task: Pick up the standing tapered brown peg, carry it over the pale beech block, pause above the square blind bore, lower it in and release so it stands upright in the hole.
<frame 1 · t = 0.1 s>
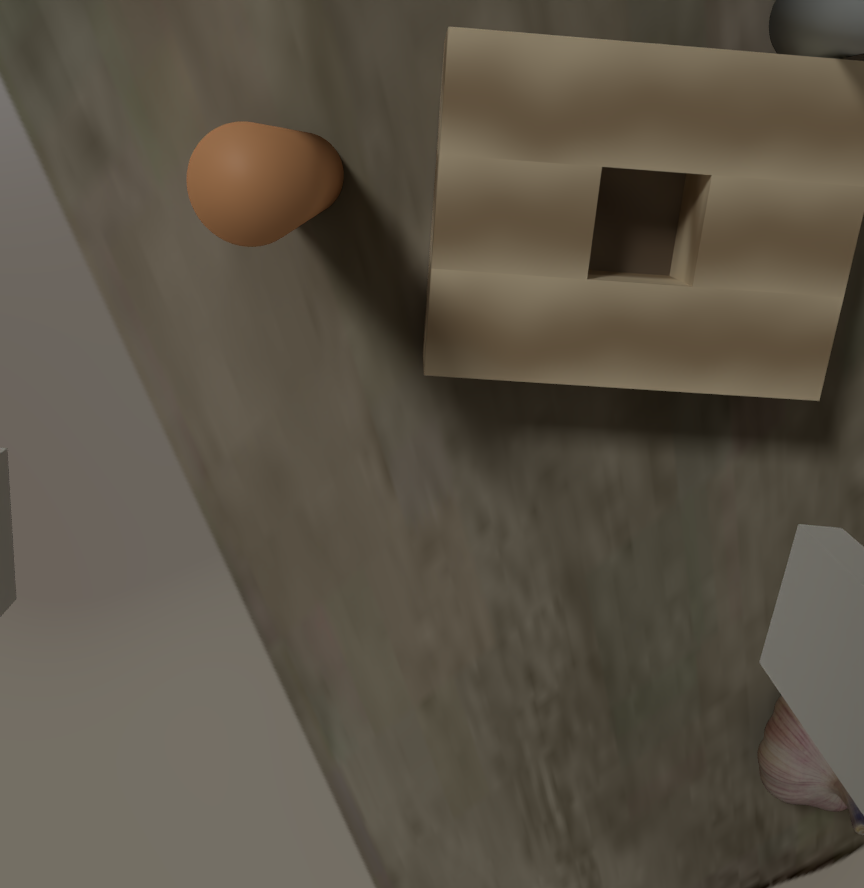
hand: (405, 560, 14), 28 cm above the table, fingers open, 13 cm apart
grey dowel: (809, 21, 36), on the table
garlic bulb: (800, 721, 49), on the table
tapered brown peg: (304, 174, 38), on the table
bore block: (622, 220, 39), on the table
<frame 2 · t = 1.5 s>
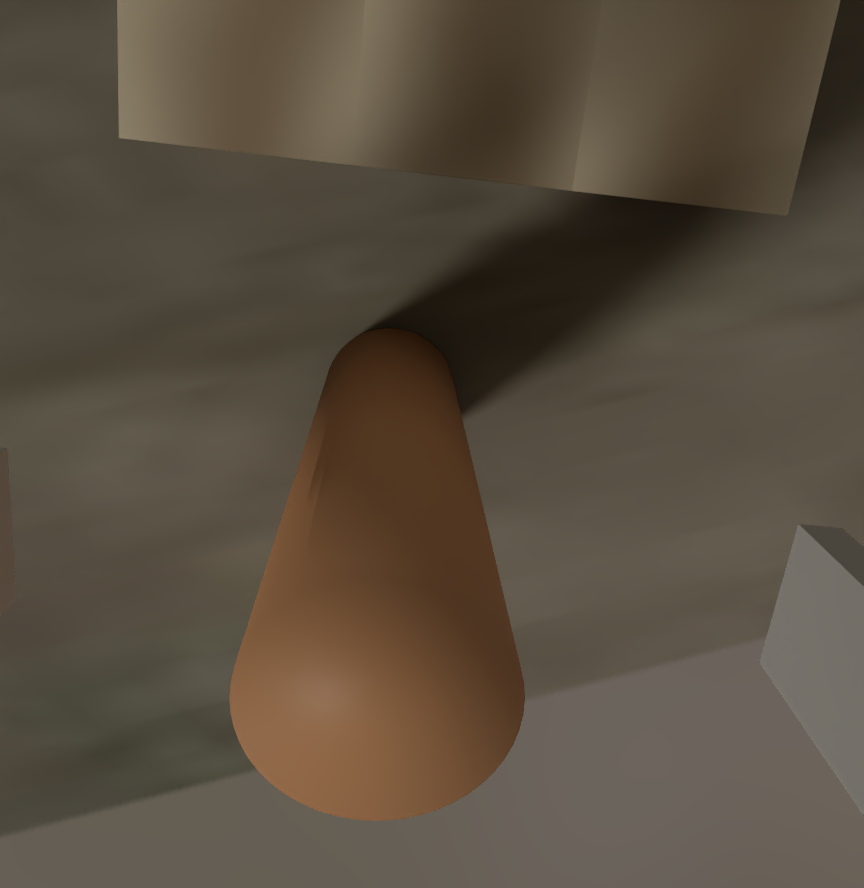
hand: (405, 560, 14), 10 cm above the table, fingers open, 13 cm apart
tapered brown peg: (390, 391, 23), on the table
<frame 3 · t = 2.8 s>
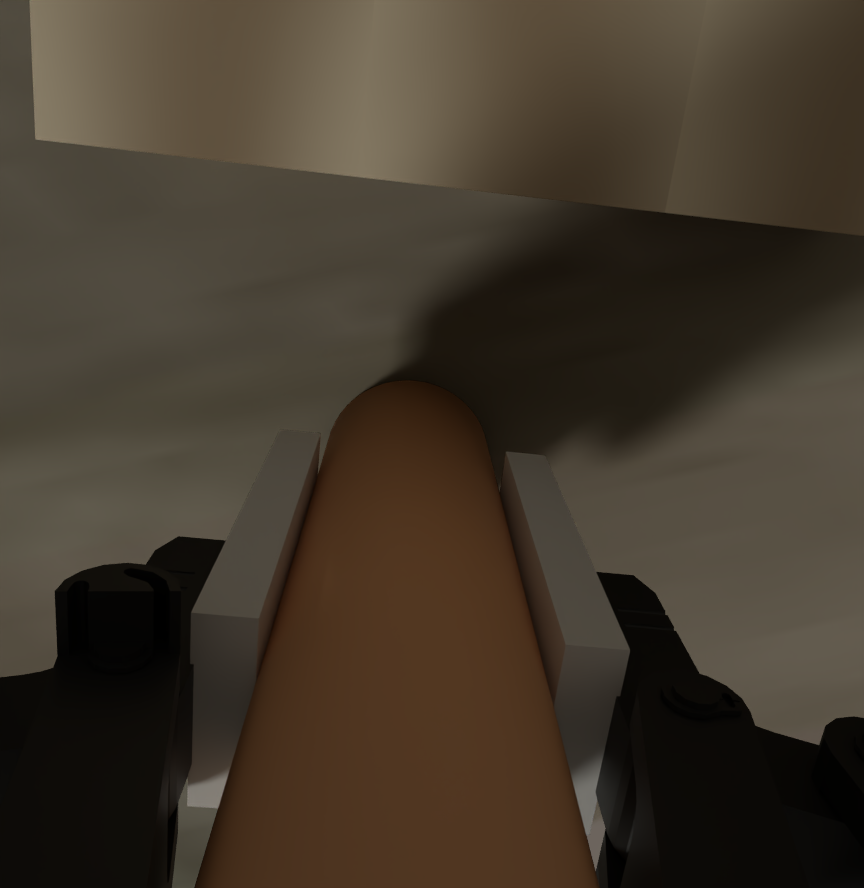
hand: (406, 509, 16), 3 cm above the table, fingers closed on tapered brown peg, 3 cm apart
tapered brown peg: (407, 458, 18), on the table, touching gripper
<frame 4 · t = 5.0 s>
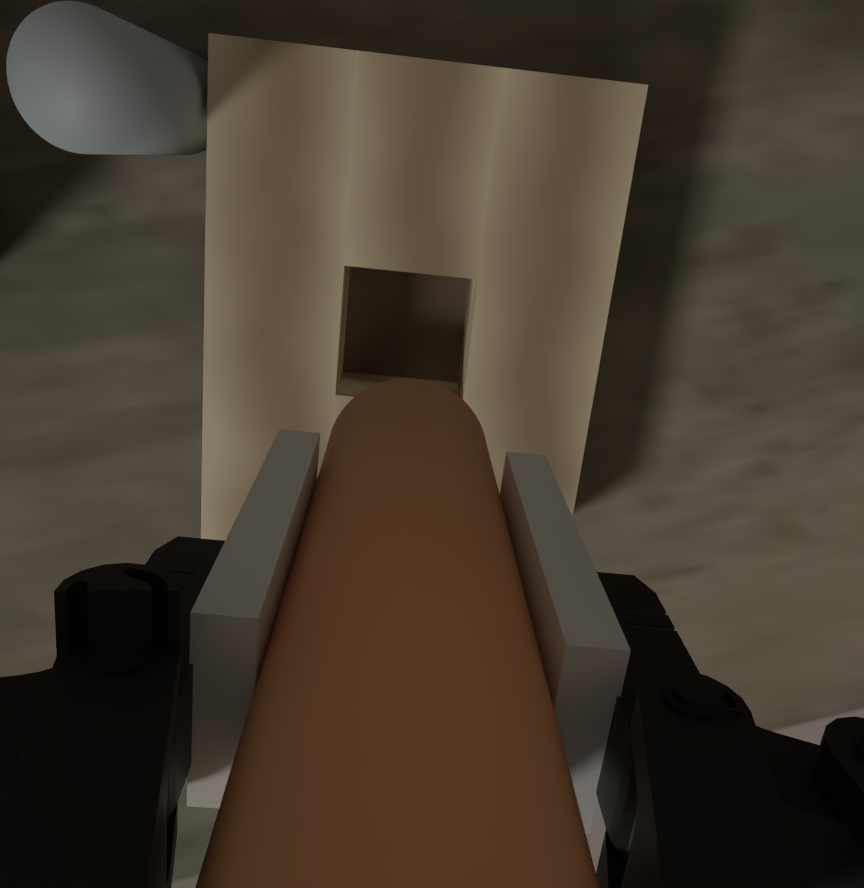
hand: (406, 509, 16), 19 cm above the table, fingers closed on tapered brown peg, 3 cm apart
grey dowel: (181, 103, 31), on the table
tapered brown peg: (407, 455, 19), point 16 cm above the table, touching gripper
bore block: (405, 315, 33), on the table
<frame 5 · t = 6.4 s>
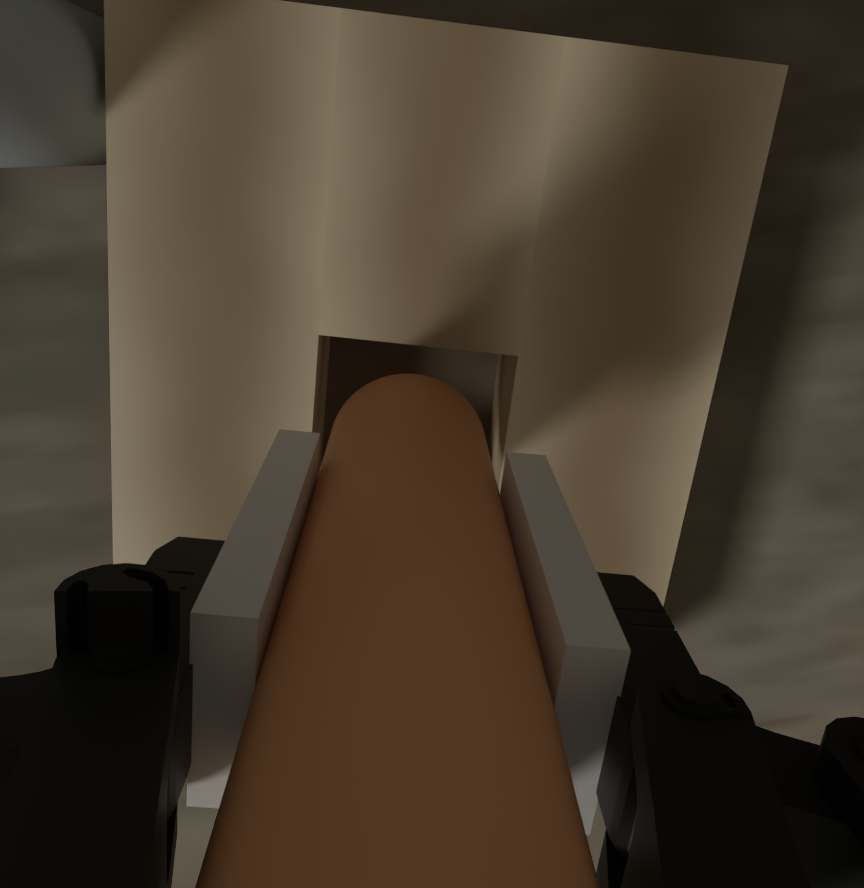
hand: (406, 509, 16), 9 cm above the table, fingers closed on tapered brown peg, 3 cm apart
grey dowel: (88, 90, 21), on the table
tapered brown peg: (407, 449, 19), point 5 cm above the table, touching gripper
bore block: (409, 389, 24), on the table
when the fingers open (6 cm above the table, at t = 7.4 s): tapered brown peg stays where it is, resting on bore block.
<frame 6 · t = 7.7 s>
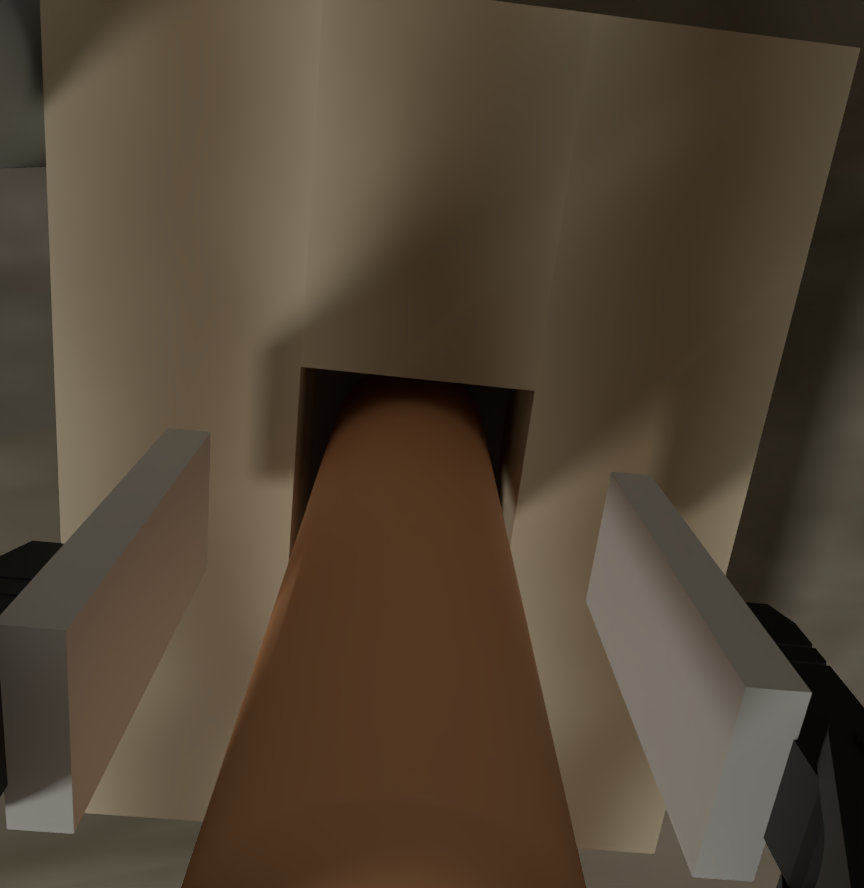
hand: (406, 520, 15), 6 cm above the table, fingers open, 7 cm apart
grey dowel: (36, 81, 18), on the table
tapered brown peg: (408, 434, 20), point 1 cm above the table, touching bore block
bore block: (408, 420, 21), on the table
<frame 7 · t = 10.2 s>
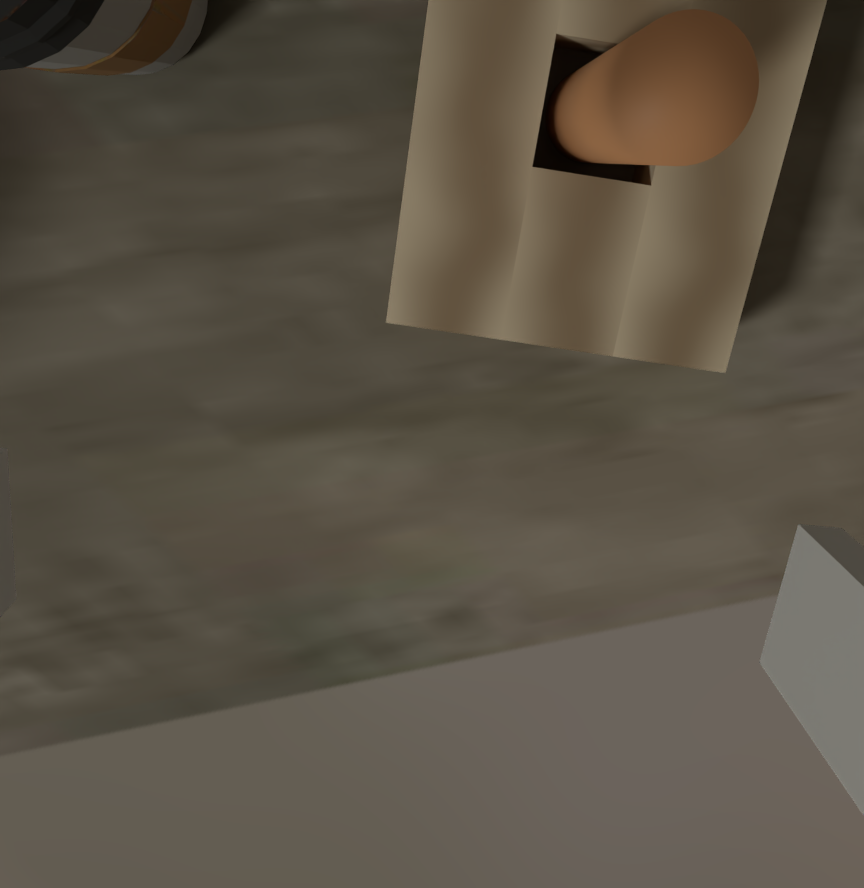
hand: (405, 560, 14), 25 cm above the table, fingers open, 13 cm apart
tapered brown peg: (589, 116, 34), point 1 cm above the table, touching bore block
bore block: (584, 117, 35), on the table
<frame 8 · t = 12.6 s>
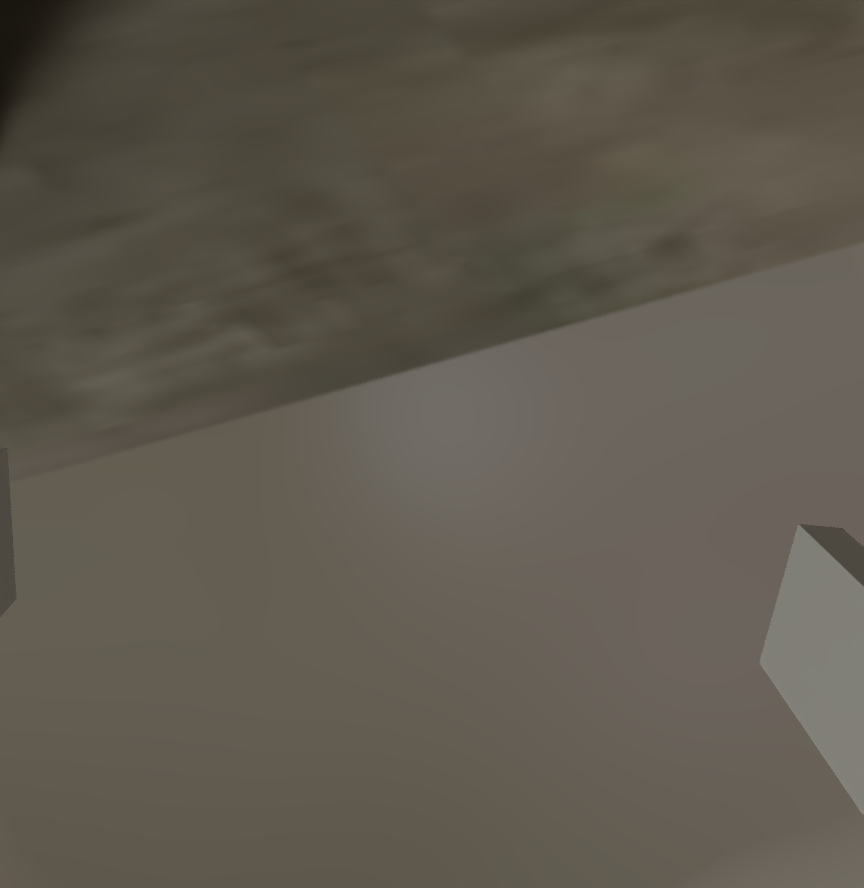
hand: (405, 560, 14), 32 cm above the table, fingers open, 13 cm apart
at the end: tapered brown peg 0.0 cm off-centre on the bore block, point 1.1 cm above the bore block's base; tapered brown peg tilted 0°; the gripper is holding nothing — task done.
